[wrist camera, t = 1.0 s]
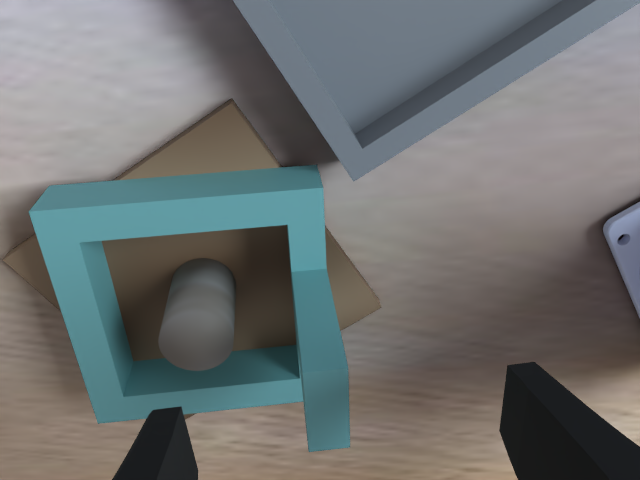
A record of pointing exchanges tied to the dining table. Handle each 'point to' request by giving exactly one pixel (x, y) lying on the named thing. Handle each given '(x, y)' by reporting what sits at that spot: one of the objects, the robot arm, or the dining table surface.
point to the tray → (410, 60)
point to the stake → (207, 264)
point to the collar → (191, 217)
